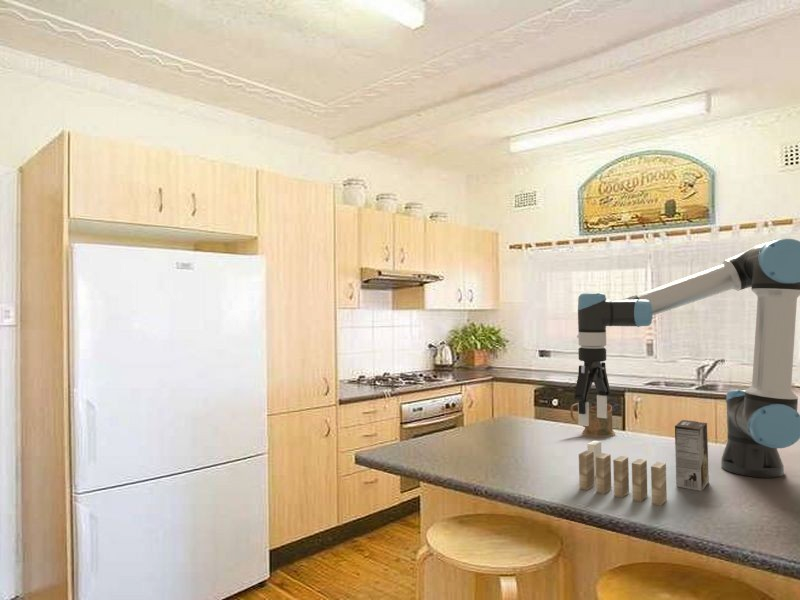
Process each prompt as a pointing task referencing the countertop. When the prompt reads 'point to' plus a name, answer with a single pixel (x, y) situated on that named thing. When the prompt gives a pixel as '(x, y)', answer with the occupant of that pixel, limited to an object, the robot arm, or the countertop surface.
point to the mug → (597, 423)
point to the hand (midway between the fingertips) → (593, 421)
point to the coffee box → (691, 455)
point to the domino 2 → (595, 451)
